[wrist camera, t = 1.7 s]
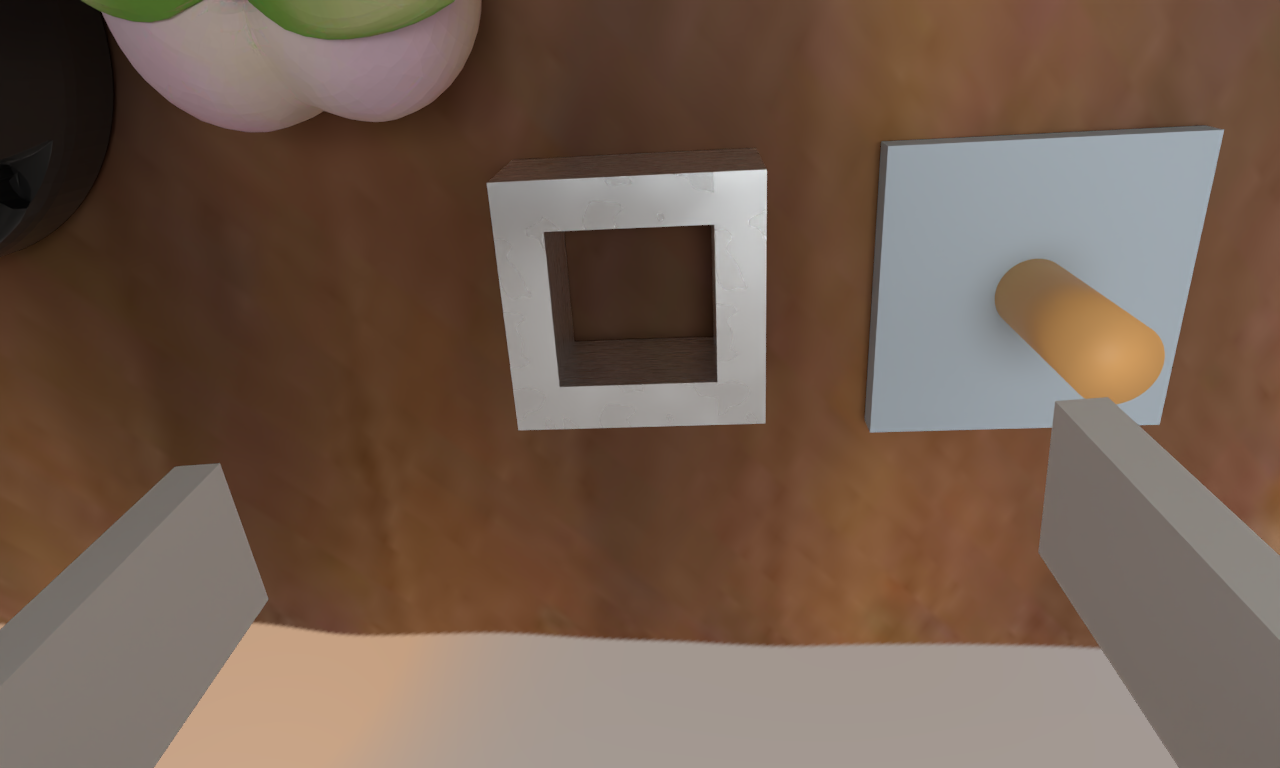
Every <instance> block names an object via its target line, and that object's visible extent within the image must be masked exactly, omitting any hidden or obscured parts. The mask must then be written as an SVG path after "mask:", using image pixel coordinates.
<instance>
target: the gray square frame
mask: <svg viewBox="0 0 1280 768" xmlns="http://www.w3.org/2000/svg"><path fill="white" fill-rule="evenodd" d="M487 190H488V198H489V205H490V213H491V221H492V229H493V237H494V244H495V252H496V260H497V268H498V275H499V283H500V291H501V299H502V307H503V314H504V322H505V330H506V338H507V345H508V353H509V361H510V369H511V377H512V384H513V392H514V400H515V408H516V416H517V423H518V430H549V429H584V428H620V427H656V426H692V425H728V424H764V423H765V414H766V240H767V169H766V167H765V165H764V163H763V161H762V159H761V157H760V155H759V153H758V151H757V149H756V148H739V149H718V150H698V151H678V152H658V153H638V154H617V155H597V156H577V157H557V158H536V159H516V160H512V161H510V162H509V163H508V164H507V165H506V166H505V167H504V168H503V169H501V170H500V171H499V172H498V173H497V174H496V175H495V176H494V177H493V178H491V179H490V180H489V181H488V182H487ZM692 225H711V244H712V291H713V337H685V338H656V339H628V340H599V341H574V330H573V319H572V308H571V298H570V287H569V276H568V266H567V255H566V244H565V234H564V231H577V230H600V229H623V228H646V227H669V226H692Z"/></svg>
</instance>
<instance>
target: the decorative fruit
mask: <svg viewBox="0 0 1280 768" xmlns="http://www.w3.org/2000/svg"><path fill="white" fill-rule="evenodd" d="M81 1H82V2H84V3H86V4H88V5H89V6H91V7H93V8H95V9H96V10H98V11H101V12H102V14H103V17H104V19H105V21H106V23H107V25H108V27H109V29H110V31H111V33H112V34H113V36H114V38H115V40H116V41H117V43H118V45H119V47H120V48H121V50H122V51H123V53H124V54H125V55H126V57H127V58H128V60H129V61H130V63H131V64H132V65H133V67H134V68H135V69H136V70H137V71H138V73H139V74H140V75H141V76H142V77H143V78H144V79H145V81H146V82H148V83H149V84H150V85H151V86H152V87H153V88H154V89H155V90H157V91H158V92H159V93H160V94H161V95H162V96H163V97H165V98H166V99H167V100H168V101H169V102H171V103H172V104H174V105H175V106H177V107H178V108H180V109H182V110H183V111H185V112H187V113H189V114H190V115H192V116H194V117H196V118H198V119H199V120H201V121H204V122H207V123H210V124H213V125H216V126H219V127H222V128H226V129H232V130H237V131H243V132H271V131H275V130H279V129H283V128H287V127H290V126H293V125H295V124H298V123H301V122H303V121H306V120H308V119H310V118H313V117H315V116H316V115H318V114H320V113H321V112H323V111H326V112H329V113H332V114H335V115H338V116H341V117H345V118H348V119H353V120H359V121H368V122H385V121H390V120H396V119H399V118H401V117H404V116H406V115H409V114H411V113H414V112H416V111H418V110H420V109H422V108H423V107H425V106H427V105H428V104H430V103H432V102H433V101H434V100H435V99H436V98H437V97H439V96H440V95H441V94H442V93H443V92H444V91H445V90H446V89H447V88H448V87H449V86H450V85H451V84H452V83H453V81H454V80H455V78H456V77H457V76H458V74H459V73H460V71H461V70H462V69H463V67H464V65H465V63H466V61H467V59H468V57H469V55H470V53H471V50H472V48H473V45H474V42H475V39H476V36H477V33H478V28H479V22H480V16H481V2H482V0H81Z"/></svg>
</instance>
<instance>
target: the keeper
mask: <svg viewBox="0 0 1280 768" xmlns="http://www.w3.org/2000/svg"><path fill="white" fill-rule="evenodd" d="M1223 133H1224V130H1223V129H1219V128H1214V127H1210V126H1206V125H1204V126H1184V127H1164V128H1144V129H1123V130H1103V131H1083V132H1063V133H1042V134H1022V135H1002V136H982V137H962V138H941V139H921V140H901V141H881V153H880V169H879V186H878V203H877V220H876V237H875V254H874V271H873V287H872V304H871V321H870V338H869V355H868V372H867V389H866V405H865V422H866V424H867V426H868V429H869V431H870V432H904V431H941V430H978V429H1015V428H1052V424H1053V415H1054V406H1055V401H1063V400H1076V399H1090V398H1103V397H1108V398H1110V399H1111V400H1112V401H1113V402H1114V403H1115V404H1116V405H1117V406H1118V407H1119V408H1120V409H1121V410H1123V411H1124V412H1125V413H1126V414H1127V415H1128V416H1129V417H1130V418H1131V419H1132V420H1133V421H1134V422H1136V423H1137V424H1138V425H1160V420H1161V415H1162V411H1163V406H1164V402H1165V397H1166V393H1167V388H1168V383H1169V379H1170V374H1171V370H1172V365H1173V361H1174V356H1175V352H1176V347H1177V342H1178V338H1179V333H1180V329H1181V324H1182V320H1183V315H1184V310H1185V306H1186V301H1187V297H1188V292H1189V288H1190V283H1191V279H1192V274H1193V269H1194V265H1195V260H1196V256H1197V251H1198V247H1199V242H1200V237H1201V233H1202V228H1203V224H1204V219H1205V215H1206V210H1207V206H1208V201H1209V196H1210V192H1211V187H1212V183H1213V178H1214V174H1215V169H1216V164H1217V160H1218V155H1219V151H1220V146H1221V142H1222V137H1223Z"/></svg>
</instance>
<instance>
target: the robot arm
mask: <svg viewBox="0 0 1280 768" xmlns="http://www.w3.org/2000/svg"><path fill="white" fill-rule="evenodd" d="M112 113H113V79H112V68H111V60H110V53H109V48H108V43H107V38H106V34H105V30H104V26H103V22H102V18H101V15H100V12H99V11H98V10H96V9H95V8H93V7H91V6H89V5H88V4H86V3H84V2H82V1H81V0H0V257H2V256H5V255H7V254H10V253H13V252H16V251H18V250H21V249H24V248H26V247H28V246H30V245H32V244H34V243H36V242H38V241H39V240H41V239H43V238H45V237H46V236H48V235H49V234H50V233H52V232H53V231H54V230H56V229H57V228H58V227H59V226H61V225H62V224H63V223H64V222H65V221H66V220H67V219H68V218H69V217H70V216H71V215H72V214H73V213H74V212H75V210H76V209H77V208H78V207H79V205H80V204H81V203H82V201H83V200H84V199H85V197H86V196H87V194H88V192H89V191H90V189H91V187H92V186H93V184H94V181H95V179H96V177H97V175H98V173H99V171H100V168H101V165H102V162H103V160H104V157H105V153H106V149H107V146H108V142H109V136H110V131H111V123H112ZM1039 554H1040V556H1041V557H1042V559H1043V560H1044V562H1045V563H1046V565H1047V566H1048V568H1049V569H1050V571H1051V572H1052V574H1053V576H1054V577H1055V579H1056V580H1057V582H1058V583H1059V585H1060V586H1061V588H1062V589H1063V591H1064V592H1065V594H1066V595H1067V597H1068V599H1069V600H1070V602H1071V603H1072V605H1073V606H1074V608H1075V609H1076V611H1077V612H1078V614H1079V615H1080V617H1081V618H1082V620H1083V622H1084V623H1085V625H1086V626H1087V628H1088V629H1089V631H1090V632H1091V634H1092V635H1093V637H1094V638H1095V640H1096V641H1097V643H1098V645H1099V646H1100V648H1101V649H1102V651H1103V652H1104V654H1105V655H1106V657H1107V658H1108V660H1109V661H1110V663H1111V664H1112V666H1113V667H1114V669H1115V670H1116V672H1117V674H1118V675H1119V677H1120V678H1121V680H1122V681H1123V683H1124V684H1125V686H1126V687H1127V689H1128V690H1129V692H1130V693H1131V695H1132V697H1133V698H1134V700H1135V701H1136V703H1137V704H1138V706H1139V707H1140V709H1141V710H1142V712H1143V713H1144V715H1145V717H1146V718H1147V720H1148V721H1149V723H1150V724H1151V726H1152V727H1153V729H1154V730H1155V732H1156V733H1157V735H1158V736H1159V738H1160V739H1161V741H1162V743H1163V744H1164V746H1165V747H1166V749H1167V750H1168V752H1169V753H1170V755H1171V756H1172V758H1173V759H1174V761H1175V762H1176V764H1177V766H1178V767H1179V768H1280V556H1279V555H1278V554H1277V553H1276V552H1275V551H1274V550H1273V549H1272V548H1271V547H1270V546H1269V545H1267V544H1266V543H1265V542H1264V541H1263V540H1262V539H1261V538H1260V537H1259V536H1258V535H1257V534H1256V533H1254V532H1253V531H1252V530H1251V529H1250V528H1249V527H1248V526H1247V525H1246V524H1245V523H1244V522H1243V521H1242V520H1240V519H1239V518H1238V517H1237V516H1236V515H1235V514H1234V513H1233V512H1232V511H1231V510H1230V509H1229V508H1227V507H1226V506H1225V505H1224V504H1223V503H1222V502H1221V501H1220V500H1219V499H1218V498H1217V497H1216V496H1214V495H1213V494H1212V493H1211V492H1210V491H1209V490H1208V489H1207V488H1206V487H1205V486H1204V485H1203V484H1201V483H1200V482H1199V481H1198V480H1197V479H1196V478H1195V477H1194V476H1193V475H1192V474H1191V473H1190V472H1189V471H1187V470H1186V469H1185V468H1184V467H1183V466H1182V465H1181V464H1180V463H1179V462H1178V461H1177V460H1176V459H1174V458H1173V457H1172V456H1171V455H1170V454H1169V453H1168V452H1167V451H1166V450H1165V449H1164V448H1163V447H1161V446H1160V445H1159V444H1158V443H1157V442H1156V441H1155V440H1154V439H1153V438H1152V437H1151V436H1150V435H1148V434H1147V433H1146V432H1145V431H1144V430H1143V429H1142V428H1141V427H1140V426H1139V425H1138V424H1137V423H1136V422H1134V421H1133V420H1132V419H1131V418H1130V417H1129V416H1128V415H1127V414H1126V413H1125V412H1124V411H1123V410H1121V409H1120V408H1119V407H1118V406H1117V405H1116V404H1115V403H1114V402H1113V401H1112V400H1111V399H1110V398H1108V397H1103V398H1090V399H1076V400H1063V401H1055V406H1054V415H1053V424H1052V434H1051V443H1050V452H1049V461H1048V470H1047V480H1046V489H1045V498H1044V507H1043V516H1042V525H1041V535H1040V544H1039ZM267 601H268V596H267V594H266V591H265V588H264V585H263V582H262V580H261V577H260V574H259V571H258V568H257V566H256V563H255V560H254V557H253V554H252V552H251V549H250V546H249V543H248V540H247V538H246V535H245V532H244V529H243V526H242V524H241V521H240V518H239V515H238V512H237V510H236V507H235V504H234V501H233V498H232V496H231V493H230V490H229V487H228V484H227V482H226V479H225V476H224V473H223V470H222V468H221V465H220V463H217V464H203V465H190V466H177V467H174V468H173V469H172V470H171V471H170V472H169V473H168V474H167V475H166V476H165V477H164V478H162V479H161V480H160V481H159V482H158V483H157V484H156V485H155V486H154V487H153V488H152V489H151V490H150V491H148V492H147V493H146V494H145V495H144V496H143V497H142V498H141V499H140V500H139V501H138V502H137V503H136V504H135V505H133V506H132V507H131V508H130V509H129V510H128V511H127V512H126V513H125V514H124V515H123V516H122V517H121V518H119V519H118V520H117V521H116V522H115V523H114V524H113V525H112V526H111V527H110V528H109V529H108V530H107V531H106V532H104V533H103V534H102V535H101V536H100V537H99V538H98V539H97V540H96V541H95V542H94V543H93V544H92V545H91V546H89V547H88V548H87V549H86V550H85V551H84V552H83V553H82V554H81V555H80V556H79V557H78V558H77V559H75V560H74V561H73V562H72V563H71V564H70V565H69V566H68V567H67V568H66V569H65V570H64V571H63V572H62V573H60V574H59V575H58V576H57V577H56V578H55V579H54V580H53V581H52V582H51V583H50V584H49V585H48V586H47V587H45V588H44V589H43V590H42V591H41V592H40V593H39V594H38V595H37V596H36V597H35V598H34V599H33V600H31V601H30V602H29V603H28V604H27V605H26V606H25V607H24V608H23V609H22V610H21V611H20V612H19V613H18V614H16V615H15V616H14V617H13V618H12V619H11V620H10V621H9V622H8V623H7V624H6V625H5V626H4V627H3V628H1V630H0V768H154V767H155V765H156V764H157V762H158V761H159V759H160V758H161V756H162V755H163V753H164V752H165V751H166V749H167V748H168V746H169V745H170V743H171V742H172V740H173V739H174V737H175V736H176V734H177V733H178V731H179V730H180V729H181V727H182V726H183V724H184V723H185V721H186V719H187V718H188V717H189V715H190V714H191V712H192V711H193V709H194V708H195V706H196V705H197V704H198V702H199V701H200V699H201V698H202V696H203V695H204V693H205V692H206V690H207V689H208V687H209V686H210V684H211V683H212V681H213V680H214V679H215V677H216V676H217V674H218V673H219V671H220V670H221V668H222V667H223V665H224V664H225V662H226V661H227V660H228V658H229V657H230V655H231V654H232V652H233V651H234V649H235V647H236V646H237V645H238V643H239V642H240V640H241V639H242V637H243V636H244V634H245V633H246V632H247V630H248V629H249V627H250V626H251V624H252V623H253V621H254V620H255V618H256V617H257V615H258V614H259V613H260V611H261V610H262V608H263V607H264V605H265V604H266V602H267Z"/></svg>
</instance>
